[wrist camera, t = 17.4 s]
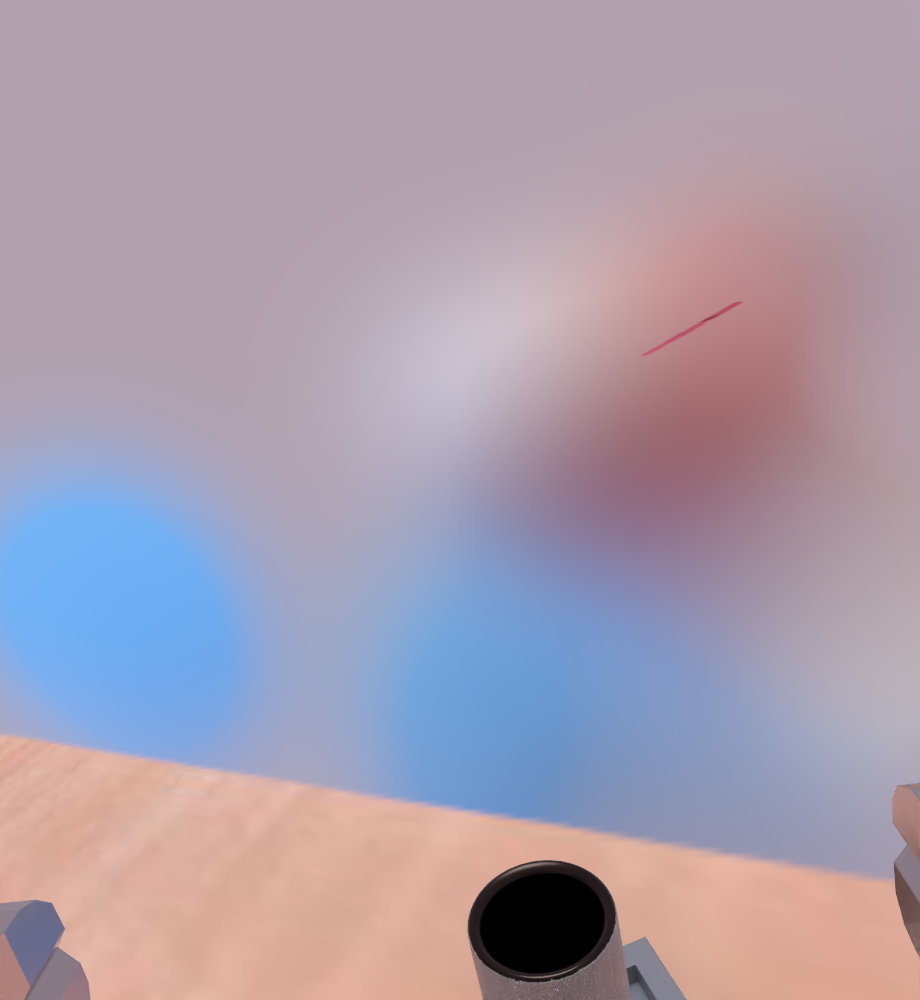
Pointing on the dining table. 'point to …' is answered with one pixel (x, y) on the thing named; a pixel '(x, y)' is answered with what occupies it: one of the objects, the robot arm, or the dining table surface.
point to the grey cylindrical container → (547, 936)
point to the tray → (648, 974)
